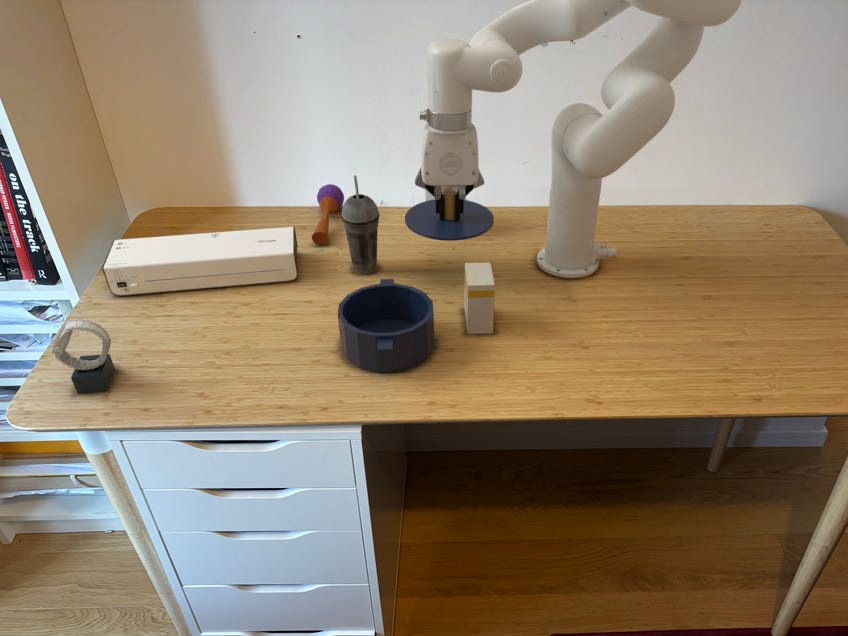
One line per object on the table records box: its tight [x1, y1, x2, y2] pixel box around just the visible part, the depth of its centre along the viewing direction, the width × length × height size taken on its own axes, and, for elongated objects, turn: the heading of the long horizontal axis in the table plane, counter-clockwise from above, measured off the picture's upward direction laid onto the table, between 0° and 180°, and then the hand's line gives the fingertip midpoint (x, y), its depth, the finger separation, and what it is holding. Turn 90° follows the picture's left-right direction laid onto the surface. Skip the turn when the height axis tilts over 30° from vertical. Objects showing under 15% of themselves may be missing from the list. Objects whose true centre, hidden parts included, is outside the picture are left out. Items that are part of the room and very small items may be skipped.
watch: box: [51, 318, 116, 394], centre depth 110 cm, size 6×8×11 cm
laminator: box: [101, 226, 299, 297], centre depth 137 cm, size 34×12×6 cm, turn 102°
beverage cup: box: [340, 175, 380, 275], centre depth 136 cm, size 7×7×20 cm
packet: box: [464, 262, 496, 335], centre depth 125 cm, size 5×8×10 cm, turn 5°
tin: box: [337, 278, 435, 374], centre depth 120 cm, size 16×21×8 cm
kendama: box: [311, 183, 345, 246], centre depth 156 cm, size 6×6×20 cm
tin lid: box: [404, 190, 495, 242], centre depth 133 cm, size 17×17×6 cm
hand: (449, 215), depth 134 cm, fingers closed on tin lid, 2 cm apart
